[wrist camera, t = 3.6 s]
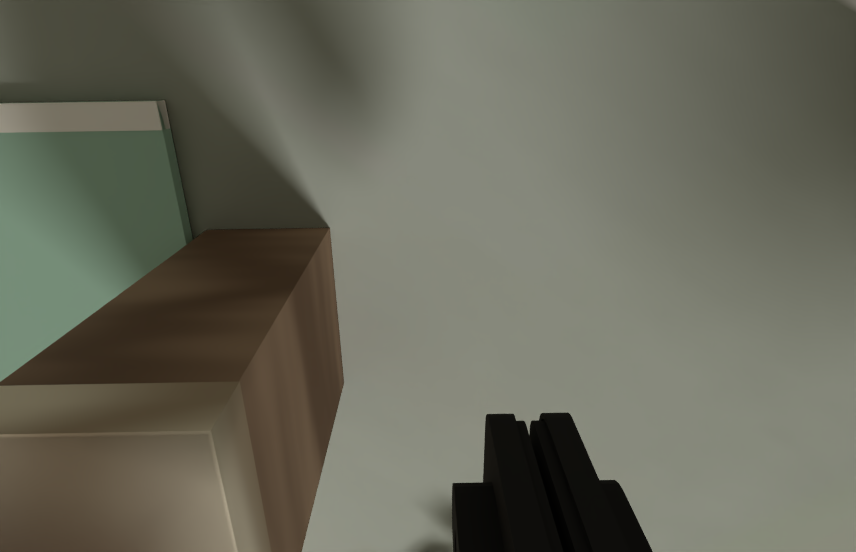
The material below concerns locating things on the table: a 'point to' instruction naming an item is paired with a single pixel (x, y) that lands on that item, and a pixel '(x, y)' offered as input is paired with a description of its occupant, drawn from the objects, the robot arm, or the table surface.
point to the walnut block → (181, 407)
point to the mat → (80, 213)
